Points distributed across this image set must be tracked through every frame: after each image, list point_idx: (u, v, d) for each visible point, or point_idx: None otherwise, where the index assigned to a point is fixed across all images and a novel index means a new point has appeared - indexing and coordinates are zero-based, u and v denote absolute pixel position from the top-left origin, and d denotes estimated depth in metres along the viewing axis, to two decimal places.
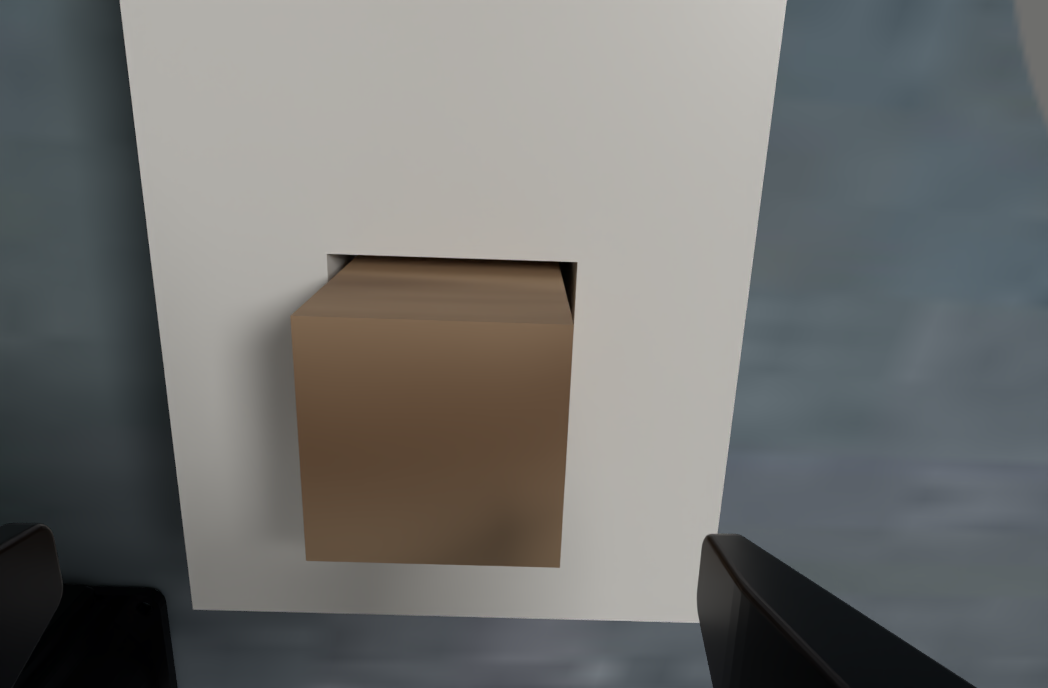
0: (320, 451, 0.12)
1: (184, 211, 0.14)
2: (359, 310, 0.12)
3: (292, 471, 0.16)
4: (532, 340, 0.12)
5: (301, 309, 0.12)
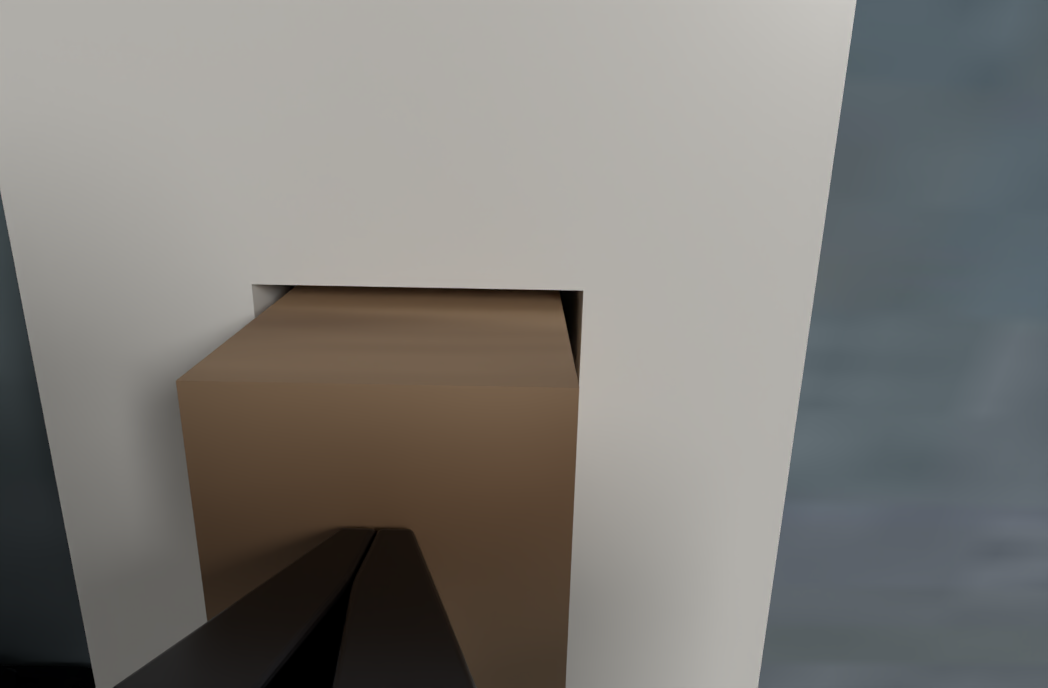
0: (229, 563, 0.09)
1: (60, 231, 0.11)
2: (277, 369, 0.08)
3: None
4: (521, 409, 0.08)
5: (198, 368, 0.08)
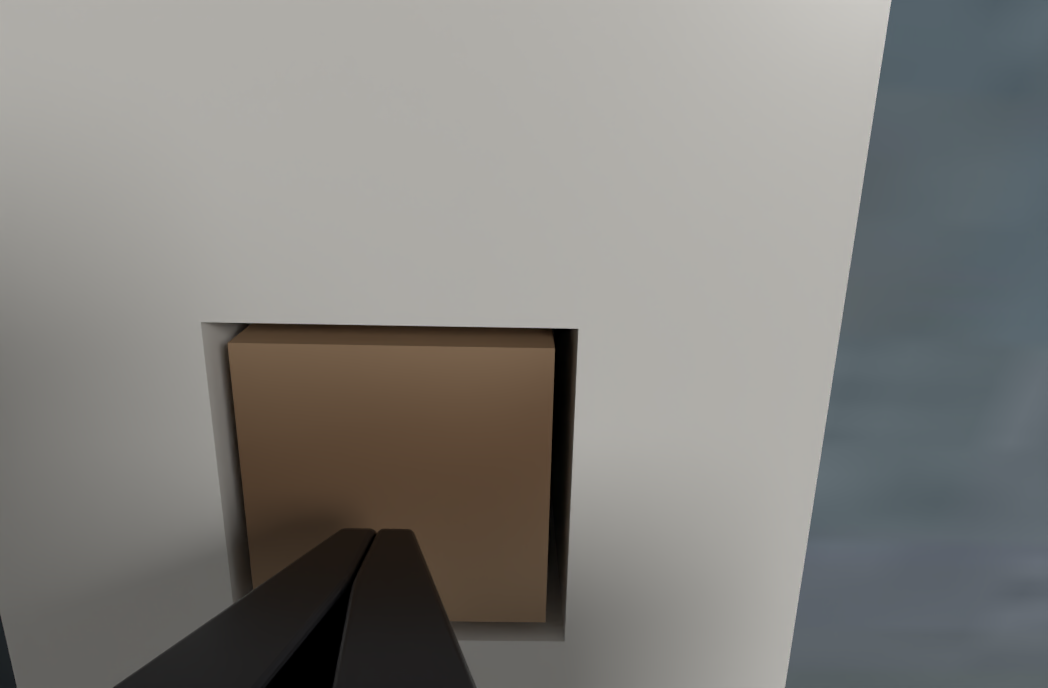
0: (268, 496, 0.11)
1: None
2: (308, 334, 0.10)
3: (171, 628, 0.11)
4: (507, 366, 0.10)
5: (242, 333, 0.10)
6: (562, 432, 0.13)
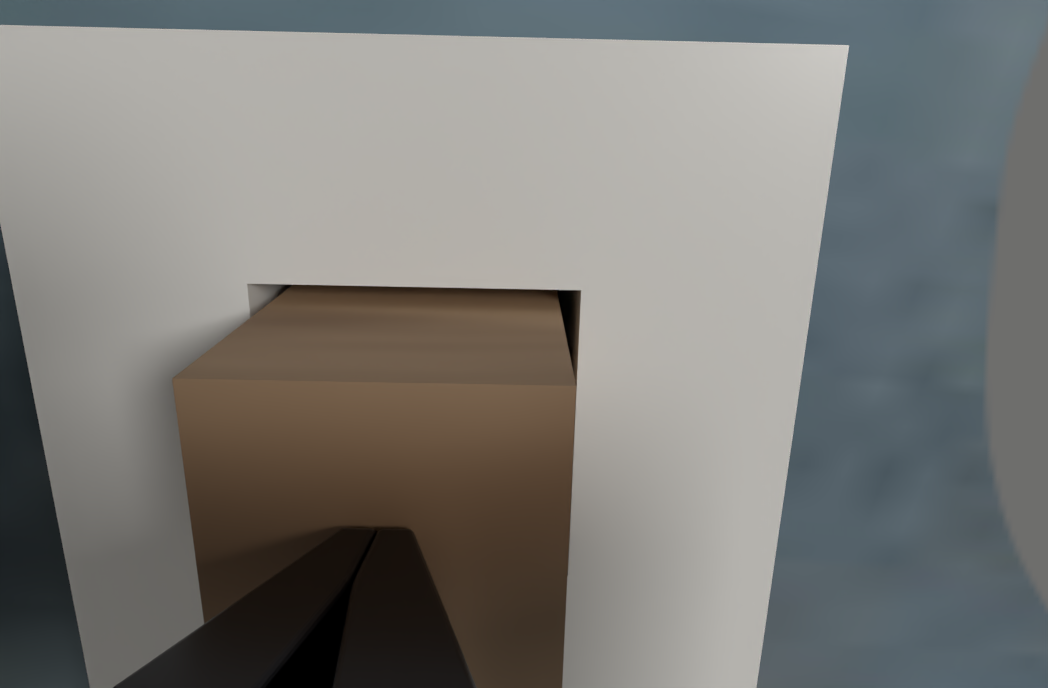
0: None
1: None
2: None
3: None
4: None
5: None
6: None
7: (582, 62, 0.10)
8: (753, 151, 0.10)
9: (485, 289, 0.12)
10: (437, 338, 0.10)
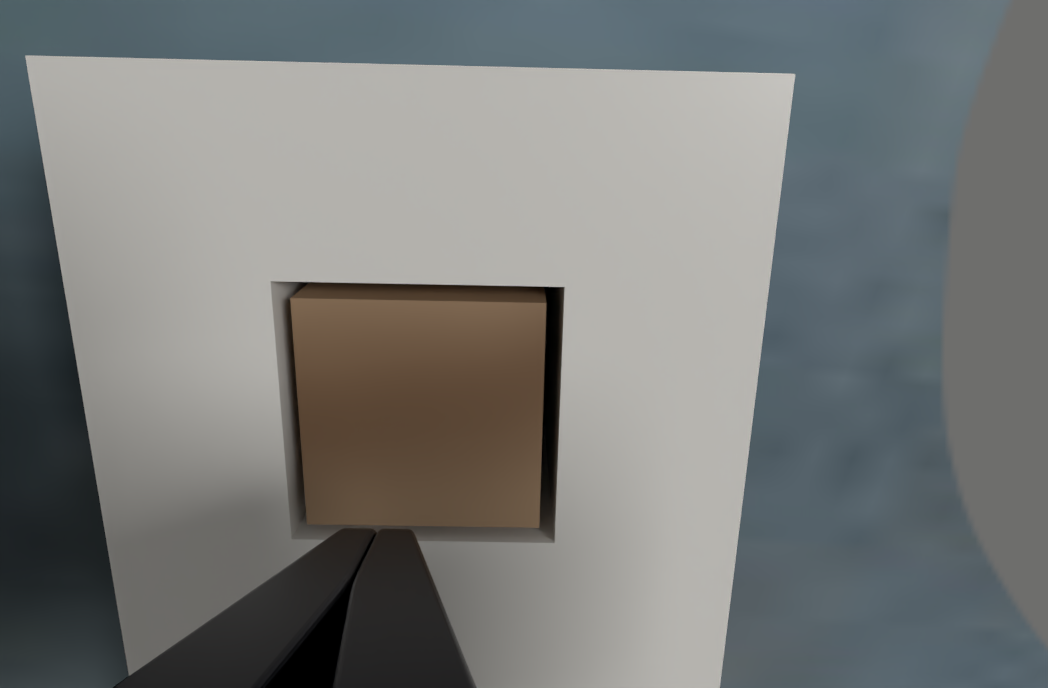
0: None
1: None
2: None
3: None
4: None
5: None
6: None
7: (564, 88, 0.12)
8: (714, 164, 0.12)
9: None
10: None
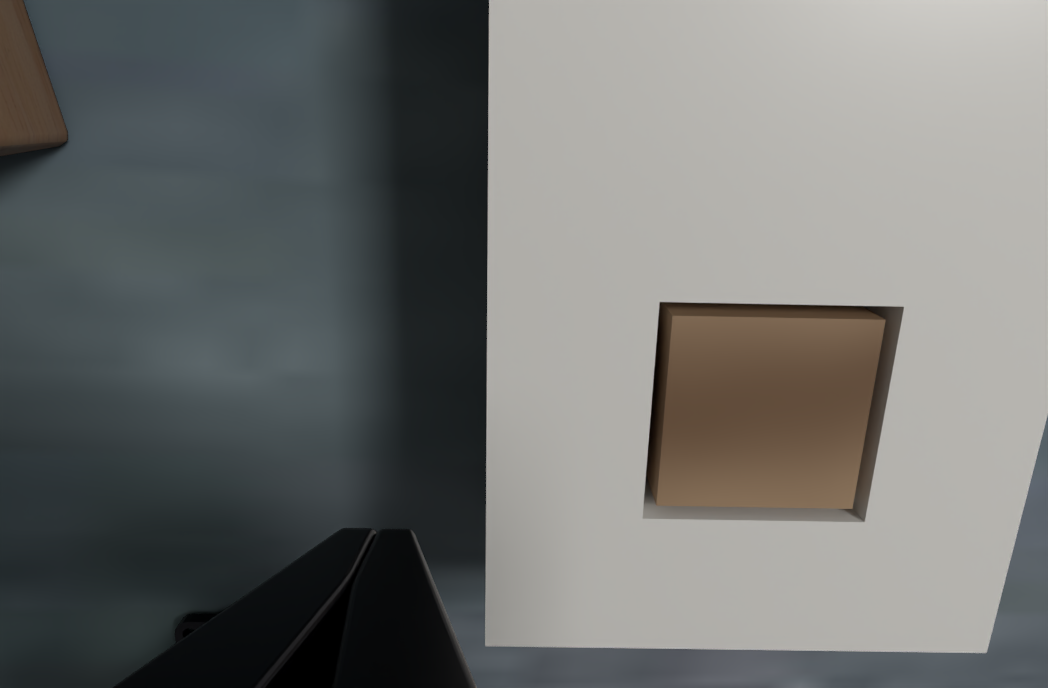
0: (680, 419, 0.16)
1: (526, 263, 0.15)
2: (714, 310, 0.16)
3: (599, 511, 0.16)
4: (853, 331, 0.15)
5: (671, 310, 0.16)
6: None
7: None
8: None
9: None
10: None
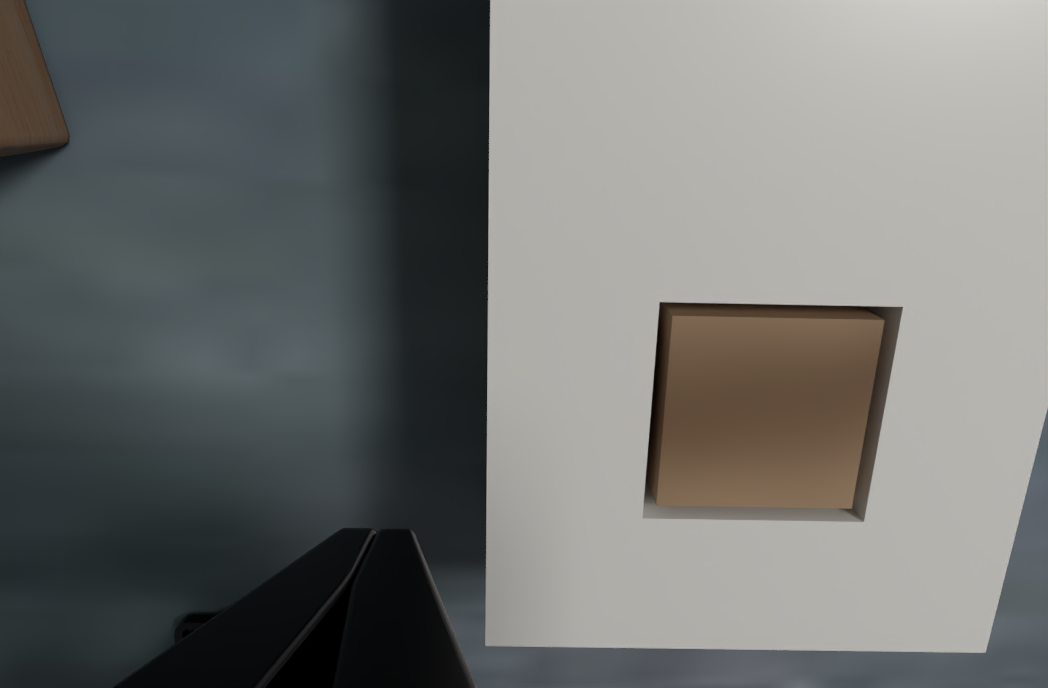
0: (680, 419, 0.16)
1: (526, 263, 0.15)
2: (714, 311, 0.16)
3: (599, 511, 0.16)
4: (852, 331, 0.15)
5: (670, 310, 0.16)
6: None
7: None
8: None
9: None
10: None
